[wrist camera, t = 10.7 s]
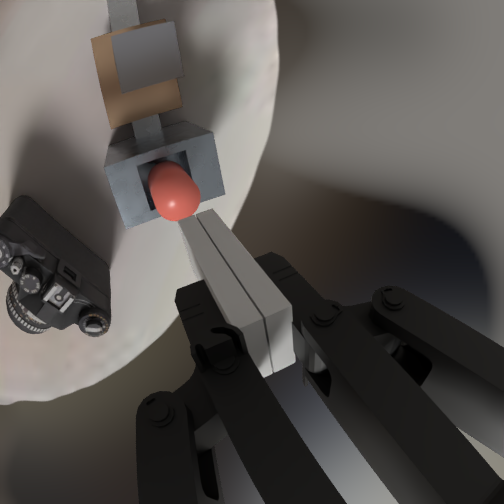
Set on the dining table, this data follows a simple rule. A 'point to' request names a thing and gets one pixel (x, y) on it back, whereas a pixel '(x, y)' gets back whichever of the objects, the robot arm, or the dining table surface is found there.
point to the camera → (51, 274)
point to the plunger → (173, 191)
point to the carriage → (139, 71)
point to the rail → (156, 149)
